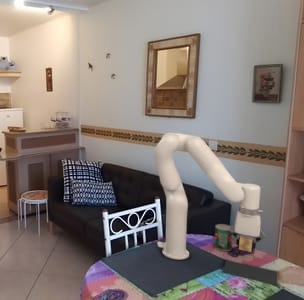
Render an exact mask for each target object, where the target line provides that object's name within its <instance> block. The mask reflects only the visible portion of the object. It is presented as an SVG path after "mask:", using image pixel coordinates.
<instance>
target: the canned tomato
mask: <svg viewBox="0 0 304 300" xmlns="http://www.w3.org/2000/svg"><path fill="white" fill-rule="evenodd" d="M214 227H215V229H214V231H215V232H214V248H215V249H216V250H219V251H221V252H230V251H232V250H233V249H232V248H233V234H232V233H231V232H230V231H229V229H230V228H231V227H232V226H231V225H228V224H225V223H219V224H218V223H217V224H215V226H214Z"/></svg>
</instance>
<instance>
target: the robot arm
mask: <svg viewBox="0 0 304 300" xmlns="http://www.w3.org/2000/svg"><path fill="white" fill-rule="evenodd" d="M176 151H179V152H185V153H187V152H188V154H189V156H190V157H191V158H192V159H193V160H194V161H195V163H196V164H197V165H198V166H199V168H200V169H201V170H202V172H204V174H205V175H206V176H207V177H208V178H209V179H210V180H211V182H212V183H213V184H214V185H215V186H216V187H217V189H218V190H219V191H220V192H221V193H222V195H223V197H225V199H226V200H227V201H228V202H230V203H233V204H237V203H239V210H238V211H237V212H236V216H235V221H234V225H232V226H231V228H230V229H229V231H230V232H231V233H232V236H234V238H235V239H236V241H235V245H236V247H237V248H238V249H239V242H240V236H247V237H251V238H253V241H252V251H251V252H254V250H256V246H257V245H256V244H257V243H259V242H260V241H261V240H264V239H266V234H265V233H264V232H263V230H262V229H261V224H262V223H261V222H262V220H261V214H263V210H262V209H260V200H261V186H260V185H258V184H255V183H242V182H238V181H237V180H235V178H234V177H233V176H232V174H230V173H229V172H228V169H227V168H226V167H225V165H224V164H223V163H222V161H221V160H220V159H219V158H218V156H217V155H216V153H214V151H213V150H212V149H211V148H210V146H208V144H207V143H206V142H205V141H204V139H203V138H202V137H199V136H197V135H191V134H185V133H178V132H166V133H164V134H163V135H162V137H161V138H160V140H159V142H158V143H157V144H156V146H155V148H154V152H153V159H154V163H155V166H156V171H157V174H158V177H159V183H160V184H161V186H162V188H163V192H164V194H165V202H166V203H165V204H166V207H165V209H166V210H165V215H166V216H165V241H164V242H163V241H159V240H158V241H157V244H156V245H157V247H158V248H162V250H161V252H162V254H163V256H164V257H166V258H169V259H172V260H179V261H180V260H186V259H188V258H189V257H190V252H189V251H188V250H187V226H188V225H187V224H188V211H189V210H188V208H189V202H188V197H187V194H186V191H185V188H184V186H183V182H182V179H181V176H180V172H179V171H178V169H177V167H176V164H175V160H174V153H175V152H176Z"/></svg>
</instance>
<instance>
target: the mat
mask: <svg viewBox="0 0 304 300" xmlns="http://www.w3.org/2000/svg"><path fill="white" fill-rule="evenodd" d="M223 266H224V267H223V269H222V273H225V274H229V275H232V276H237V277H241V278H246V279H249V280H253V281H258V282H262V283H266V284H270V285H274V286H278V271H277V270H272V269H267V268H263V267H259V266H254V265H250V264H245V263H240V262H236V261H232V260H225V264H224V265H223Z"/></svg>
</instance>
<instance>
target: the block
mask: <svg viewBox="0 0 304 300" xmlns="http://www.w3.org/2000/svg"><path fill="white" fill-rule="evenodd" d="M252 241H253V238H252V237H251V236H246V235H240V242H239V248H238V251H239V250H240V251H243V252H249V253H252V252H253V251H252Z"/></svg>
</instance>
